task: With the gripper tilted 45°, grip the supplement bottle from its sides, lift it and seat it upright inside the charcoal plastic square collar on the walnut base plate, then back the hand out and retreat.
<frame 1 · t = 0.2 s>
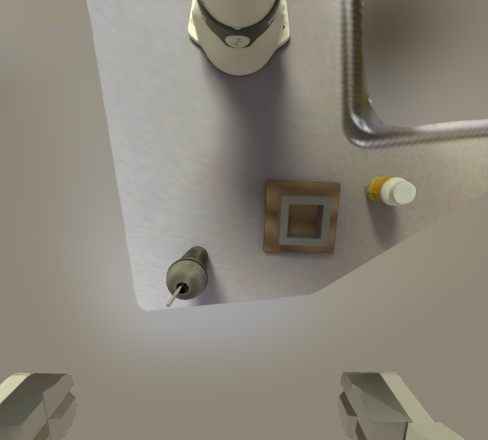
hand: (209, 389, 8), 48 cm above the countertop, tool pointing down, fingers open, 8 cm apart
beverage cup: (197, 255, 57), on the countertop
supplement bottle: (376, 188, 55), on the countertop
collar socket: (299, 216, 56), on the countertop
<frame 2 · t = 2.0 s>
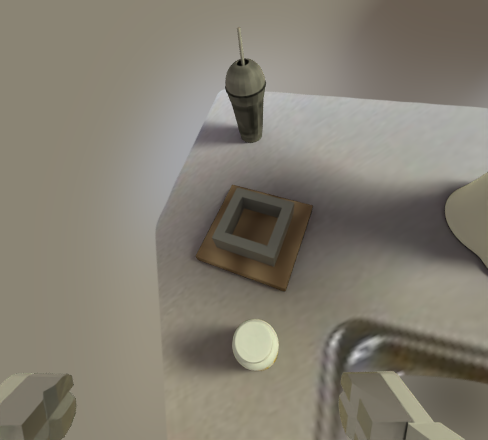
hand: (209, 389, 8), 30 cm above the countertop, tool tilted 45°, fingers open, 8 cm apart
beverage cup: (251, 136, 56), on the countertop
supplement bottle: (259, 347, 35), on the countertop
collar socket: (256, 234, 44), on the countertop
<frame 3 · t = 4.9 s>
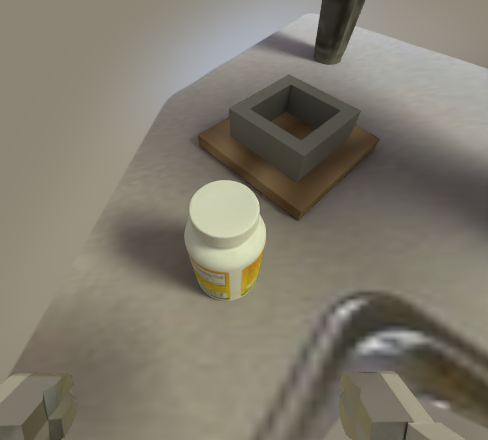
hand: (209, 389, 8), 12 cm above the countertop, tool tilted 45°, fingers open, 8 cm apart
beverage cup: (326, 58, 44), on the countertop
supplement bottle: (228, 272, 23), on the countertop
collar socket: (287, 147, 31), on the countertop
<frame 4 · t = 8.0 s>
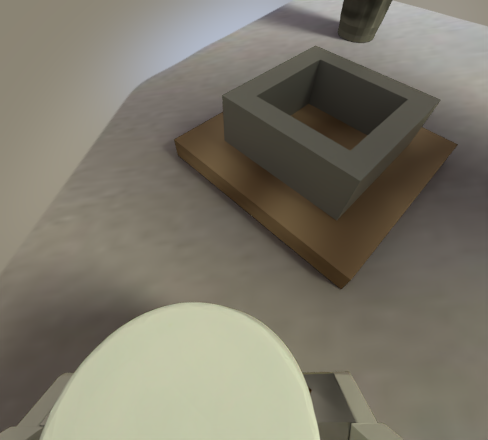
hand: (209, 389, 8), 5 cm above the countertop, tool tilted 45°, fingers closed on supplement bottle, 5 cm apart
beverage cup: (354, 36, 33), on the countertop
supplement bottle: (217, 405, 12), on the countertop, touching gripper
collar socket: (312, 157, 20), on the countertop
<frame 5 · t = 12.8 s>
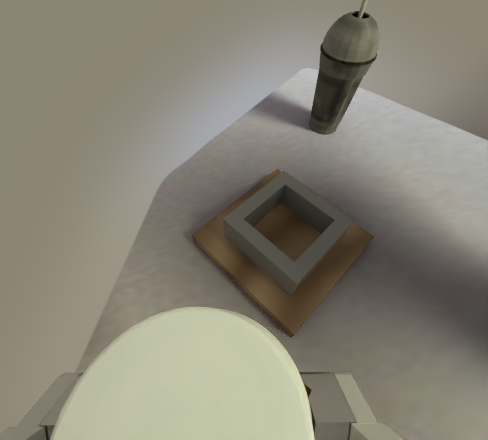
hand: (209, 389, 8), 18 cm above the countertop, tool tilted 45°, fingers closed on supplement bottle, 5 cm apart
beverage cup: (322, 126, 44), on the countertop
supplement bottle: (218, 405, 12), point 13 cm above the countertop, touching gripper
collar socket: (282, 241, 31), on the countertop
when the fingers open (8 cm above the countertop, at t = 18.0 s): supplement bottle stays where it is, resting on collar socket.
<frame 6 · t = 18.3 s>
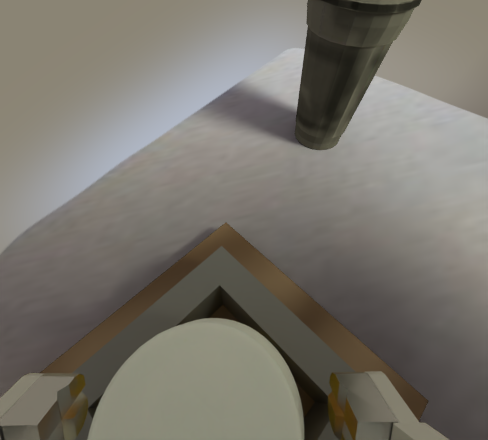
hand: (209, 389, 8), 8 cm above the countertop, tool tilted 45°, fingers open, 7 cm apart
beverage cup: (316, 136, 27), on the countertop
supplement bottle: (220, 404, 13), point 1 cm above the countertop, touching collar socket
collar socket: (220, 401, 14), on the countertop
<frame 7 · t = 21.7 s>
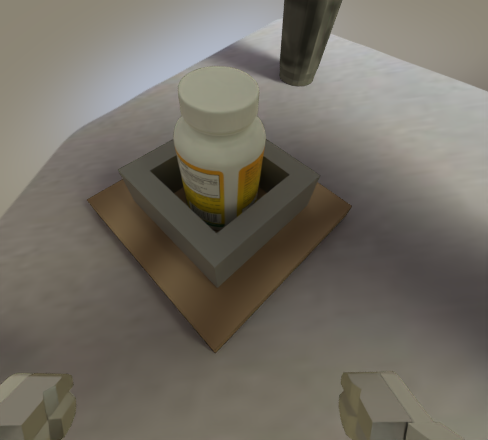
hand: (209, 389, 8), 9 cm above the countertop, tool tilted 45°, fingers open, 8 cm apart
beverage cup: (295, 78, 34), on the countertop
supplement bottle: (222, 205, 21), point 1 cm above the countertop, touching collar socket
collar socket: (222, 213, 22), on the countertop
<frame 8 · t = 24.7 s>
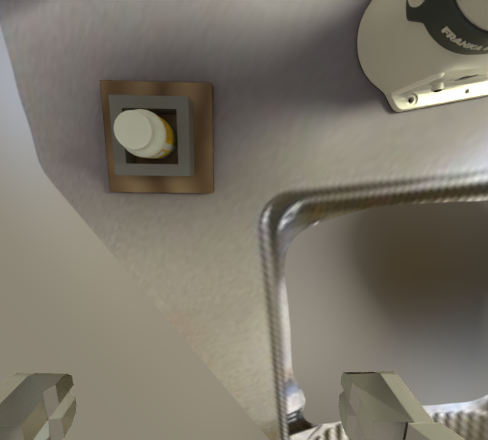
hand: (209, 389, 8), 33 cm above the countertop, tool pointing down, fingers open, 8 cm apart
supplement bottle: (160, 139, 37), point 1 cm above the countertop, touching collar socket
collar socket: (162, 140, 38), on the countertop
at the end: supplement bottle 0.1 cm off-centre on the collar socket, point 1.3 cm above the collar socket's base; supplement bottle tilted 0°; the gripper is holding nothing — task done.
